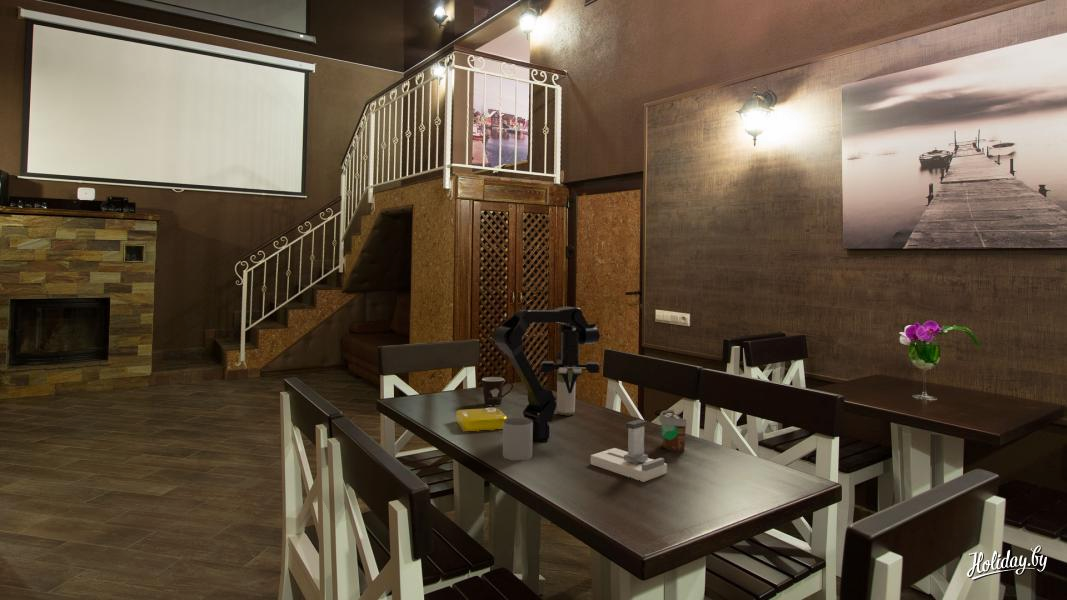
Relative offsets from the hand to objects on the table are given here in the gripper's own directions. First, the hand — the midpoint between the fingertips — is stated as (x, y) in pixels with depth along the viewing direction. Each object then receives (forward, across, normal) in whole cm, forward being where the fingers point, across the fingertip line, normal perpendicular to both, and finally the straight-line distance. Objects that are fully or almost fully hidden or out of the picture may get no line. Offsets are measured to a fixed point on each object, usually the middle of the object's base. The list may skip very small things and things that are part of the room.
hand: (569, 393), depth 194 cm
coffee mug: (+13, +28, -37) cm, 48 cm away
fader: (+10, -17, +35) cm, 41 cm away
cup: (+13, +15, +25) cm, 32 cm away
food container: (+13, -30, +13) cm, 35 cm away
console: (+13, -16, +34) cm, 39 cm away
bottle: (+13, +1, -24) cm, 27 cm away
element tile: (+14, +30, -7) cm, 34 cm away
